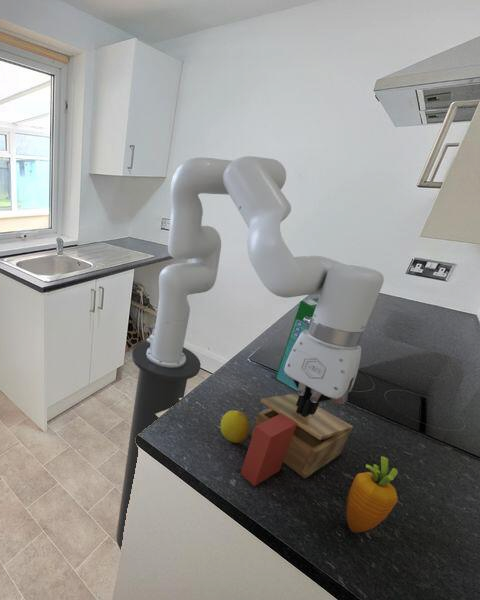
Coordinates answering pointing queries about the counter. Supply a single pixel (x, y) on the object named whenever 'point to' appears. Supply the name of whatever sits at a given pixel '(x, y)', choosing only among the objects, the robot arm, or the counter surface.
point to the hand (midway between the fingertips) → (304, 412)
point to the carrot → (371, 497)
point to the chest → (307, 447)
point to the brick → (268, 448)
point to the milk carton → (296, 337)
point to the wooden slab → (308, 417)
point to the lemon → (234, 426)
